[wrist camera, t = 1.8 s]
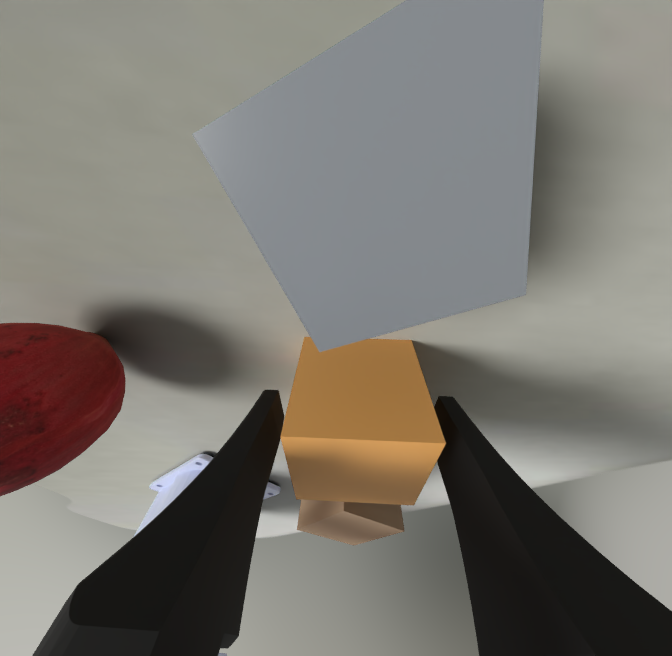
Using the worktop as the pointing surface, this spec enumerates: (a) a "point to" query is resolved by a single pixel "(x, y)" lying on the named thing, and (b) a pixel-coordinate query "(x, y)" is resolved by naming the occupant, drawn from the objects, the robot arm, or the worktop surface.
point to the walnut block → (350, 520)
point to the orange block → (360, 424)
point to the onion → (52, 398)
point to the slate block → (393, 168)
